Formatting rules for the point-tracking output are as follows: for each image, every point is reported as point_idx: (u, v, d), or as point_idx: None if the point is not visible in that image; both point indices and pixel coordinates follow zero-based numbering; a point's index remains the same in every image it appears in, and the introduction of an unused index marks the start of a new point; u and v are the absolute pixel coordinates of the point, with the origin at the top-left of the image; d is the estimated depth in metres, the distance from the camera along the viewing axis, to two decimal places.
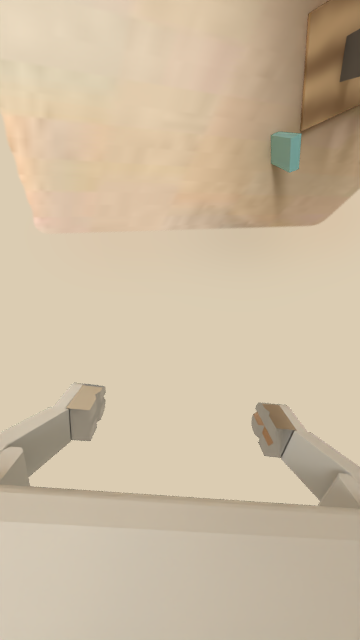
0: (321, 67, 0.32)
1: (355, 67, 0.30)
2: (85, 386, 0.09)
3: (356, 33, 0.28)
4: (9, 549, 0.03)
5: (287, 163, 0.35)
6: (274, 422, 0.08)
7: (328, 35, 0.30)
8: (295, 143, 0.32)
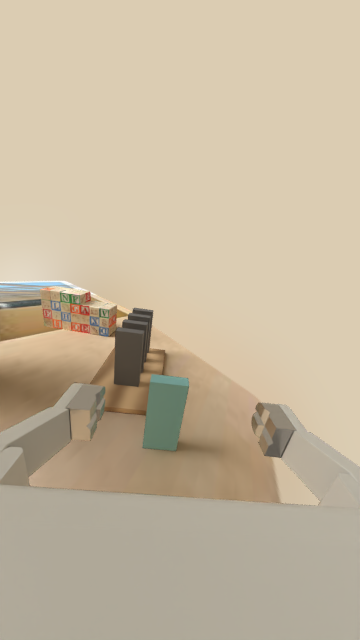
0: (118, 397, 0.34)
1: (133, 368, 0.36)
2: (85, 386, 0.09)
3: (115, 373, 0.36)
4: (9, 549, 0.03)
5: (177, 392, 0.23)
6: (274, 422, 0.08)
7: None
8: (158, 378, 0.24)
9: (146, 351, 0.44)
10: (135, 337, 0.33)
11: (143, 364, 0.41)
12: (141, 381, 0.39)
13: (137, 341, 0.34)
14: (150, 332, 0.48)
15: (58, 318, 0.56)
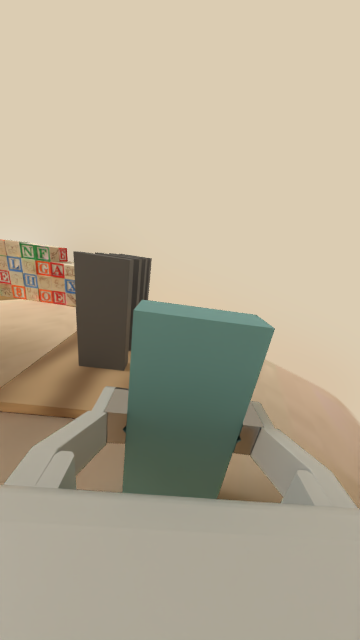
0: (82, 388, 0.17)
1: (114, 335, 0.19)
2: (117, 389, 0.09)
3: (79, 344, 0.19)
4: (9, 549, 0.03)
5: (230, 353, 0.07)
6: None
7: (51, 381, 0.17)
8: (163, 307, 0.07)
9: None
10: (114, 267, 0.17)
11: None
12: None
13: (119, 276, 0.17)
14: (147, 293, 0.31)
15: (20, 283, 0.40)
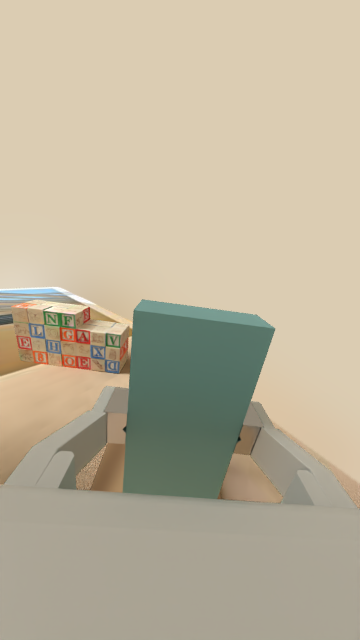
0: None
1: None
2: (117, 389, 0.09)
3: None
4: (9, 549, 0.03)
5: (230, 353, 0.07)
6: None
7: None
8: (164, 307, 0.07)
9: None
10: None
11: None
12: None
13: None
14: None
15: (42, 349, 0.37)
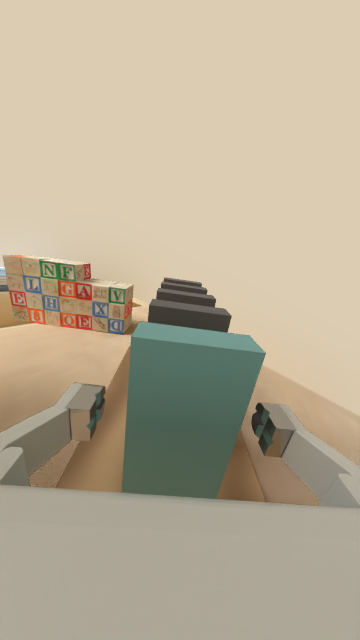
0: None
1: None
2: (85, 386, 0.09)
3: None
4: (9, 549, 0.03)
5: (223, 375, 0.07)
6: (274, 422, 0.08)
7: (109, 489, 0.12)
8: (160, 331, 0.07)
9: None
10: (207, 326, 0.11)
11: None
12: None
13: None
14: None
15: (38, 306, 0.34)
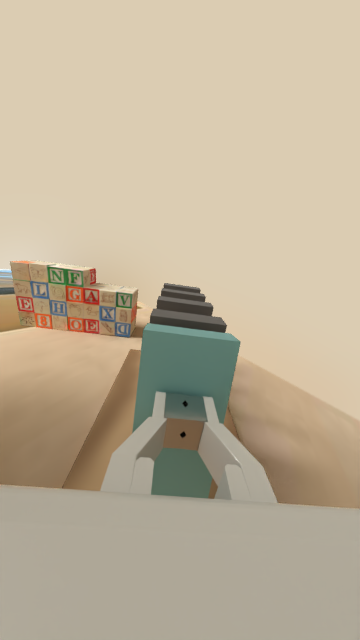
0: None
1: None
2: (169, 395, 0.09)
3: None
4: (9, 549, 0.03)
5: (211, 360, 0.09)
6: (187, 413, 0.08)
7: None
8: (163, 328, 0.10)
9: None
10: None
11: None
12: None
13: None
14: None
15: (45, 311, 0.34)
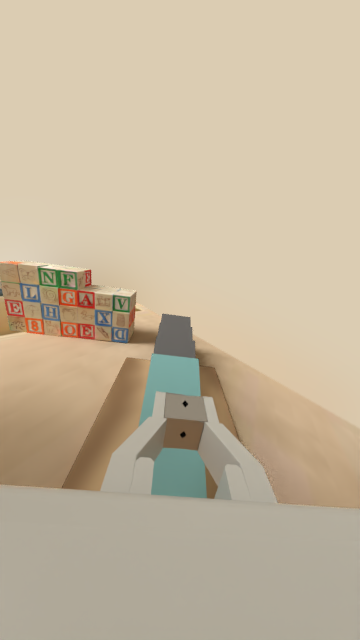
0: None
1: None
2: (169, 395, 0.09)
3: None
4: (9, 549, 0.03)
5: (186, 366, 0.18)
6: (187, 413, 0.08)
7: None
8: None
9: None
10: (184, 344, 0.23)
11: None
12: None
13: (188, 349, 0.22)
14: None
15: (36, 316, 0.32)
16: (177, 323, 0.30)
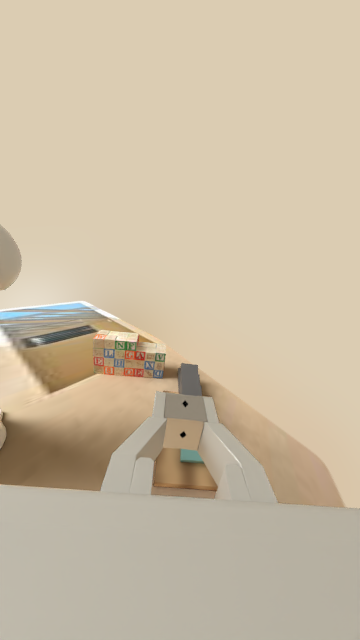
0: (190, 469, 0.33)
1: None
2: (169, 395, 0.09)
3: None
4: (9, 549, 0.03)
5: None
6: (187, 413, 0.08)
7: (174, 465, 0.33)
8: None
9: None
10: (196, 388, 0.46)
11: None
12: None
13: (198, 391, 0.45)
14: None
15: (110, 365, 0.55)
16: (190, 370, 0.54)
